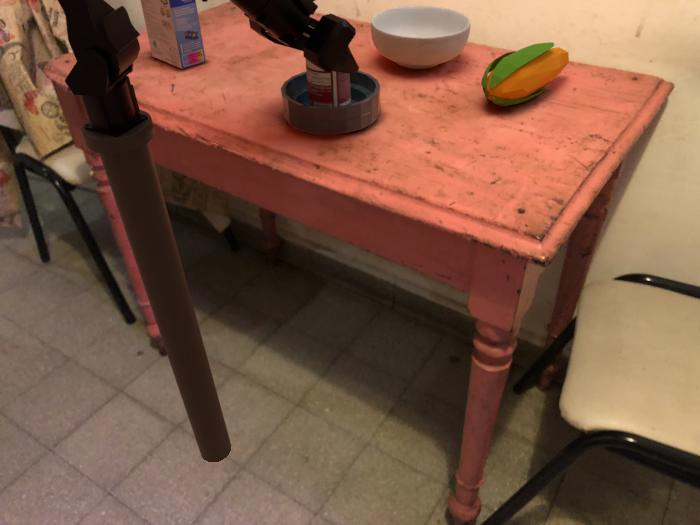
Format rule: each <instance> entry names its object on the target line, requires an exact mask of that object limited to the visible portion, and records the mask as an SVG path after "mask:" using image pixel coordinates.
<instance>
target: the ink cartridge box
mask: <svg viewBox="0 0 700 525" xmlns="http://www.w3.org/2000/svg"><path fill="white" fill-rule="evenodd" d="M140 6H141V11H142V15H143V19H144V23H145V28H146V33H147V38H148V43H149V48H150V53H151V57H153V58H155V59H157V60H160V61H162V62H164V63H167V64H169V65H172V66H174V67H176V68H178V69H180V70H181V69H186V68H189V67H192V66H196V65H199V64H204V63H206V61H207V59H206V53H205V48H204V42H203V36H202V29H201V25H200V19H199V12H198V6H197V1H196V0H140Z"/></svg>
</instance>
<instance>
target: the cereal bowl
mask: <svg viewBox="0 0 700 525" xmlns="http://www.w3.org/2000/svg"><path fill="white" fill-rule="evenodd" d="M470 33H471V19H470V18H469V16H467V15H465V14H464V13H462V12H460V11H458V10H454V9H450V8H447V7H441V6H440V7H439V6H433V5H402V6H395V7H390V8H386V9H384V10H381V11H379V12H377V13H376V14H374V15H373V16H372V18H371V22H370V35H371V40H372V44H373V46H374V47H375V49H376V50H377V52H378V53H379V54H380V55H382V56H383V57H384V58H386V59H388V60H390V62H391V61H392V62H395V63H396V64H397V65H399V66H401V67H403V68H406V69H409V70H410V69H411V70H426V69H431V68H434V67H438V65H440V64H444V63H447V62H449V61H451V60H452V59H455V58H456V57H457V56H458V55H460V54H461V53H462V52H463V50H464V49H465V47H466V46H467V43H468V41H469V37H470Z"/></svg>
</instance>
